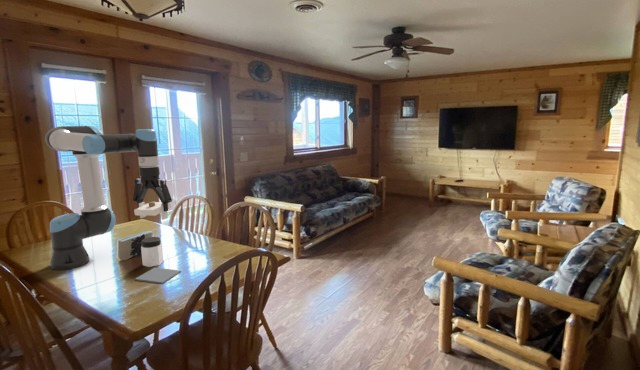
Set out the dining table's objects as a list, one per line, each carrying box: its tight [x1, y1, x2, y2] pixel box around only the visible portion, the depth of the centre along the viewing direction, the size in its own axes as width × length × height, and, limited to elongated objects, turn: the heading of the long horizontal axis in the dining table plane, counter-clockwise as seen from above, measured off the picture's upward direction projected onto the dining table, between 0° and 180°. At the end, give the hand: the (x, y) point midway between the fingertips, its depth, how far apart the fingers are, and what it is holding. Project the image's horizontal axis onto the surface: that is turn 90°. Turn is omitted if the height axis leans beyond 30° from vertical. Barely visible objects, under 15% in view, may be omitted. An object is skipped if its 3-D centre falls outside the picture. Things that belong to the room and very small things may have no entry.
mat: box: [134, 267, 182, 285], centre depth 152 cm, size 14×12×1 cm
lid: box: [133, 201, 172, 217], centre depth 147 cm, size 10×10×4 cm
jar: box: [140, 236, 164, 268], centre depth 164 cm, size 9×8×12 cm
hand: (153, 218), depth 148 cm, fingers closed on lid, 10 cm apart
